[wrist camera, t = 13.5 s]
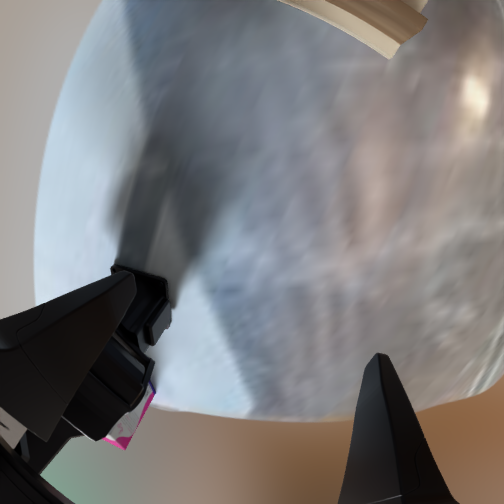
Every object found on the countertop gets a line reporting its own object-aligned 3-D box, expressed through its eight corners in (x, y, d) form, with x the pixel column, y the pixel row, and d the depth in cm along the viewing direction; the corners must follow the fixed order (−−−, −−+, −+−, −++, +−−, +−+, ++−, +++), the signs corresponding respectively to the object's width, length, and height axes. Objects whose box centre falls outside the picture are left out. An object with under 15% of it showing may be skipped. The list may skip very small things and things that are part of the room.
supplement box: (114, 361, 36) (77, 418, 26) (147, 372, 35) (111, 436, 25) (125, 383, 39) (94, 436, 29) (156, 393, 38) (127, 452, 28)
